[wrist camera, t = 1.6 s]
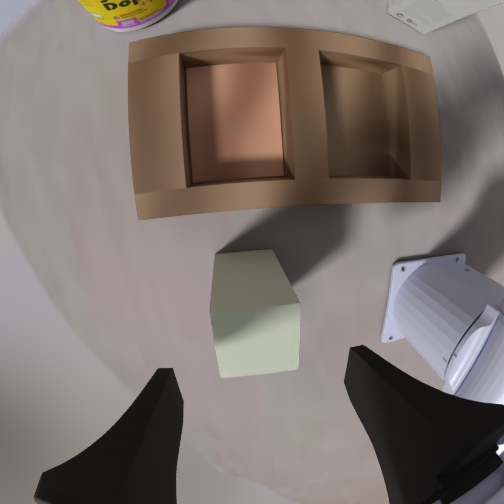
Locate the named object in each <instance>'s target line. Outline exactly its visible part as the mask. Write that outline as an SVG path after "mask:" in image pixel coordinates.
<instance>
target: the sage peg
mask: <svg viewBox="0 0 504 504" xmlns="http://www.w3.org/2000/svg"><path fill="white" fill-rule="evenodd" d="M210 318H211V324H212V331H213V337H214V343H215V349H216V354H217V360H218V366H219V371H220V377H221V378H227V377H239V376H250V375H259V374H267V373H275V372H283V371H290V370H296V369H298V366H299V340H300V301H299V299H298V297H297V295H296V294H295V292H294V290H293V288H292V286H291V284H290V282H289V280H288V278H287V276H286V275H285V273H284V271H283V269H282V267H281V265H280V263H279V261H278V259H277V258H276V256H275V254H274V252H273V250H272V249H266V250H255V251H243V252H232V253H221V254H215V258H214V268H213V279H212V290H211V301H210Z"/></svg>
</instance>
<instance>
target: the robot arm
mask: <svg viewBox="0 0 504 504" xmlns="http://www.w3.org/2000/svg"><path fill="white" fill-rule="evenodd" d="M465 261H466V255H465V254H464V253H458V254H452V255H445V256H439V257H432V258H425V259H418V260H411V261H403V262H397V263H395V264H394V265H393V267H392V274H391V282H390V289H389V296H388V302H387V308H386V314H385V319H384V324H383V330H382V334H381V341H382V342H383V343H387V342H391V341H395V340H399V339H402V338H406V339H407V340H408V341H409V342H410V343H411V344H412V346H413V347H414V348H415V349H416V350H417V351H418V352H419V353H420V355H421V356H422V357H423V358H424V359H425V360H426V361H427V362H428V364H429V365H430V366H431V367H432V368H433V369H434V370H435V372H436V373H437V374H438V375H439V376H440V377H441V379H442V380H443V381H444V382H445V384H444V387H443V388H442V390H441V391H440V390H438V389H435V388H433V387H431V386H429V385H427V384H425V383H422V382H421V381H419V380H417V379H415V378H413V377H411V376H410V375H408V374H406V373H405V372H403V371H401V370H400V369H398V368H397V367H395V366H394V365H392V364H391V363H389V362H388V361H386V360H385V359H383V358H382V357H380V356H379V355H377V354H376V353H375V352H373V351H372V350H370V349H369V348H367V347H366V346H364V345H360V346H356V347H351V348H350V351H349V357H348V363H347V368H346V374H345V379H344V384H345V387H346V390H347V393H348V395H349V398H350V401H351V403H352V405H353V407H354V409H355V411H356V413H357V415H358V417H359V418H360V420H361V422H362V424H363V426H364V428H365V430H366V432H367V434H368V436H369V438H370V440H371V442H372V444H373V447H374V449H375V452H376V455H377V458H378V461H379V464H380V467H381V470H382V474H383V477H384V481H385V484H386V488H387V493H388V497H389V502H390V504H504V287H503V286H502V285H501V284H499V283H497V282H496V281H494V280H492V279H490V278H489V277H487V276H485V275H484V274H482V273H480V272H478V271H477V270H475V269H473V268H471V267H469V266H468V265H466V264H465ZM403 266H404V267H403ZM402 267H403V269H402V270H401V268H402ZM390 336H391V337H390ZM389 337H390V338H389ZM183 403H184V401H183V398H182V395H181V392H180V389H179V386H178V383H177V380H176V377H175V374H174V370H173V368H158V369H157V370H156V372H155V373H154V375H153V376H152V378H151V379H150V380H149V382H148V383H147V385H146V386H145V387H144V389H143V390H142V392H141V393H140V394H139V396H138V397H137V398H136V400H135V401H134V402H133V403H132V405H131V406H130V407H129V409H128V410H127V411H126V412H125V413H124V414H123V415H122V417H121V418H120V419H119V420H118V421H117V422H116V423H115V424H114V425H113V426H112V427H111V428H110V429H109V430H108V431H107V432H106V433H105V434H104V435H103V436H102V437H100V438H99V439H98V440H97V441H96V442H94V443H93V444H92V445H91V446H89V447H88V448H87V449H85V450H84V451H82V452H81V453H79V454H78V455H76V456H75V457H73V458H71V459H70V460H68V461H66V462H65V463H63V464H61V465H59V466H56V467H54V468H52V469H50V470H48V471H46V472H43V473H42V475H41V478H40V480H39V483H38V486H37V489H36V492H35V495H34V499H35V501H36V502H37V503H38V504H177V503H176V502H177V500H176V469H177V460H178V454H179V447H180V440H181V433H182V426H183Z"/></svg>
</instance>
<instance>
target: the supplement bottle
mask: <svg viewBox="0 0 504 504" xmlns="http://www.w3.org/2000/svg"><path fill="white" fill-rule="evenodd" d="M78 1H79V2H80V3H81V4H82V5H83V6H84V7H85V8H86V9H87V10H88V11H89V12H90V13H91V14H92V15H93V16H94V18H95V19H96V20H97V21H98V22H99V23H100V24H101V25H103V26H104V27H105V28H107V29H110V30H113V31H117V32H128V31H135V30H139V29H142V28H145V27H147V26H149V25H151V24H153V23H155V22H157V21H158V20H160V19H161V18H163V17H164V16H165V15H167V14H168V13H169V12H170V11H171V10H172V9H173V8H174V6H175V5H176V3H177V2H178V0H78Z"/></svg>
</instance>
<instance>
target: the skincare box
mask: <svg viewBox="0 0 504 504" xmlns="http://www.w3.org/2000/svg"><path fill="white" fill-rule="evenodd" d="M502 3H504V0H388V14H390V15H392V16H394V17H395V18H397V19H399V20H401V21H402V22H404V23H406V24H407V25H409V26H411V27H412V28H414V29H415V30H417V31H418V32H420V33H421V34H423V35H425V34H428V33H429V32H432V31H434V30H436V29H438V28H440V27H442V26H445V25H447V24H449V23H452V22H454V21H456V20H459V19H461V18H464V17H466V16H469V15H471V14H474V13H476V12H479V11H482V10H484V9H487V8H490V7H493V6H496V5H499V4H502Z"/></svg>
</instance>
